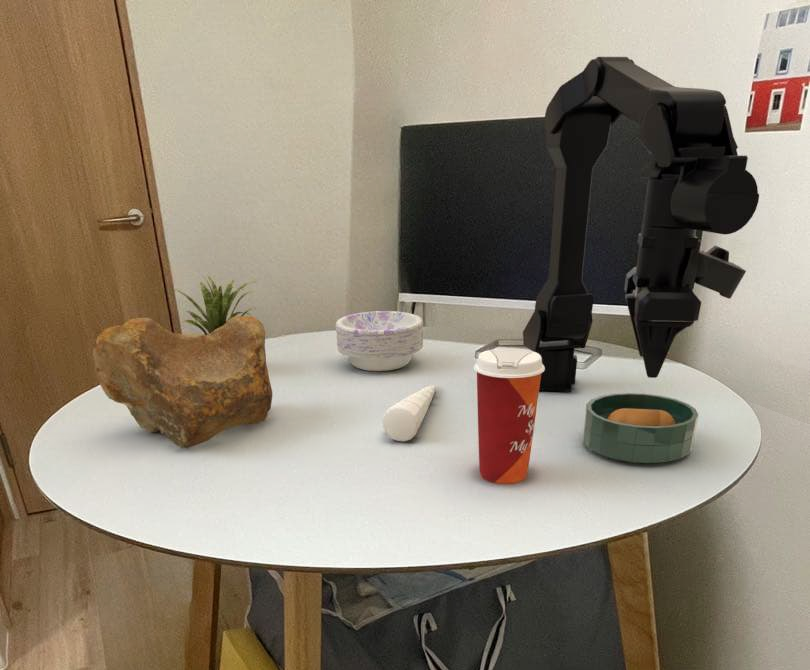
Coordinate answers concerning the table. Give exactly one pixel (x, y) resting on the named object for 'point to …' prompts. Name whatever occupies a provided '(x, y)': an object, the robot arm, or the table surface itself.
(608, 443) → the green pet bowl
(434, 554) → the table surface
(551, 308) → the robot arm
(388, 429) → the unicorn horn
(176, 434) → the rough brown rock
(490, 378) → the paper cup
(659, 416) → the bread roll
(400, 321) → the paper bowls
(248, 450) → the table surface
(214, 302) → the house plant
